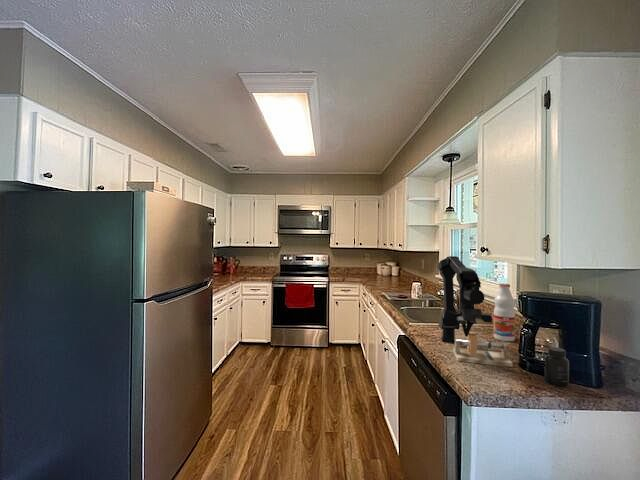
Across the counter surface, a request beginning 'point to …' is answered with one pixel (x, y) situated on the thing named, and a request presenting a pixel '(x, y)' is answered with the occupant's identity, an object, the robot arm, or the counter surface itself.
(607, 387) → the counter surface
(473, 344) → the slotted orange block
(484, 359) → the stand
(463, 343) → the pipe
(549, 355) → the supplement bottle
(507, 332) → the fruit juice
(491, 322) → the robot arm
